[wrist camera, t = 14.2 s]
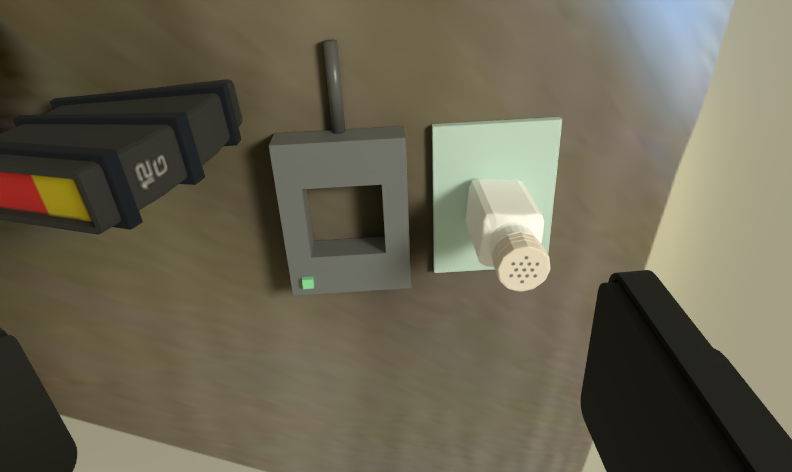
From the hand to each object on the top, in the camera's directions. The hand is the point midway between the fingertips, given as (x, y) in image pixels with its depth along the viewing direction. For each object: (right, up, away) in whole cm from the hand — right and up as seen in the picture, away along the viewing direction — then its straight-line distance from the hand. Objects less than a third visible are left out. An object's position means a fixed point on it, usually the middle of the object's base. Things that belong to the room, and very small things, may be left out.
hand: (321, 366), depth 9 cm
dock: (-3, +7, +31) cm, 32 cm away
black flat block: (-16, +11, +29) cm, 34 cm away
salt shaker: (+8, +5, +32) cm, 34 cm away
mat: (+9, +5, +33) cm, 34 cm away
